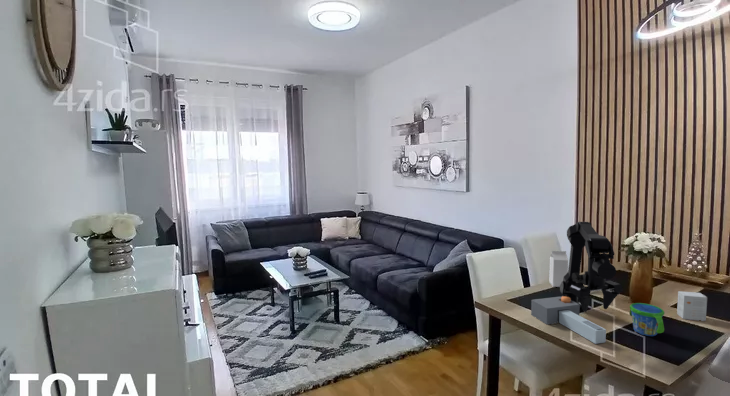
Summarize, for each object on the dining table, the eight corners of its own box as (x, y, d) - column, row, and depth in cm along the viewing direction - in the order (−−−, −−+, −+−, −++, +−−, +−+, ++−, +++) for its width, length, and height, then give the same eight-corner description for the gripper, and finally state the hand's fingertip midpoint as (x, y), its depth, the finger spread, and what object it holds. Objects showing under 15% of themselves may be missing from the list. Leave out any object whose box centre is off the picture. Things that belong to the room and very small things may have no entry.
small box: (699, 316, 158) (700, 292, 157) (706, 321, 153) (707, 297, 151) (676, 313, 160) (677, 290, 159) (682, 319, 155) (684, 295, 154)
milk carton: (567, 287, 196) (568, 252, 194) (553, 286, 197) (553, 252, 196) (562, 283, 203) (563, 249, 201) (549, 282, 204) (550, 249, 202)
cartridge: (567, 321, 155) (568, 309, 155) (605, 342, 137) (606, 328, 136) (558, 322, 154) (559, 310, 154) (595, 343, 136) (595, 330, 135)
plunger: (566, 302, 162) (566, 295, 162) (572, 305, 159) (572, 298, 159) (559, 303, 162) (559, 296, 161) (565, 306, 158) (565, 299, 158)
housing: (562, 311, 166) (562, 296, 166) (579, 320, 156) (579, 304, 156) (531, 314, 163) (531, 299, 162) (546, 324, 153) (547, 308, 152)
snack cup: (673, 343, 136) (675, 316, 135) (642, 341, 137) (643, 315, 136) (648, 324, 151) (649, 300, 150) (620, 323, 153) (621, 299, 152)
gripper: (599, 262, 147) (598, 299, 148) (559, 266, 143) (558, 304, 145) (624, 270, 136) (622, 310, 138) (582, 275, 132) (580, 316, 134)
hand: (594, 310), depth 139 cm, fingers open, 9 cm apart
